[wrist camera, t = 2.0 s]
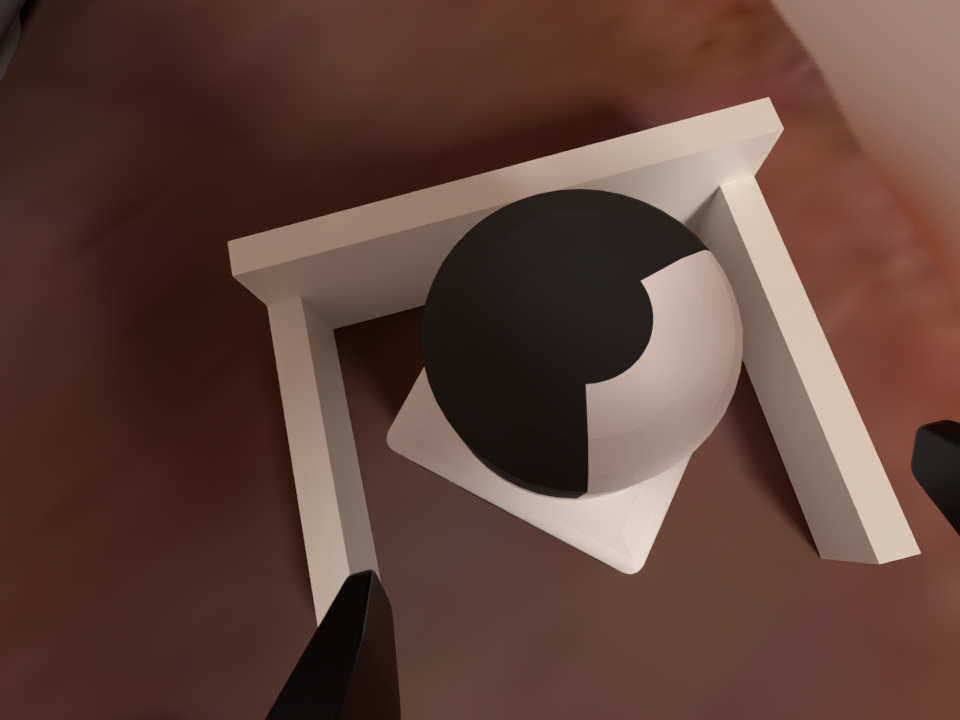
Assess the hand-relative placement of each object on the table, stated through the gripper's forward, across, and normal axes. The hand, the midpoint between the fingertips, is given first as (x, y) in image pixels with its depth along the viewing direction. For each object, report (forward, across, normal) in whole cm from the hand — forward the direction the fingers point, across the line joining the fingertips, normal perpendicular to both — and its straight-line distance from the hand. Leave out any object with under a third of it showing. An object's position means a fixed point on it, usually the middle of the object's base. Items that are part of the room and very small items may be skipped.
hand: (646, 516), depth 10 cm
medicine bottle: (+11, 0, +6) cm, 13 cm away
